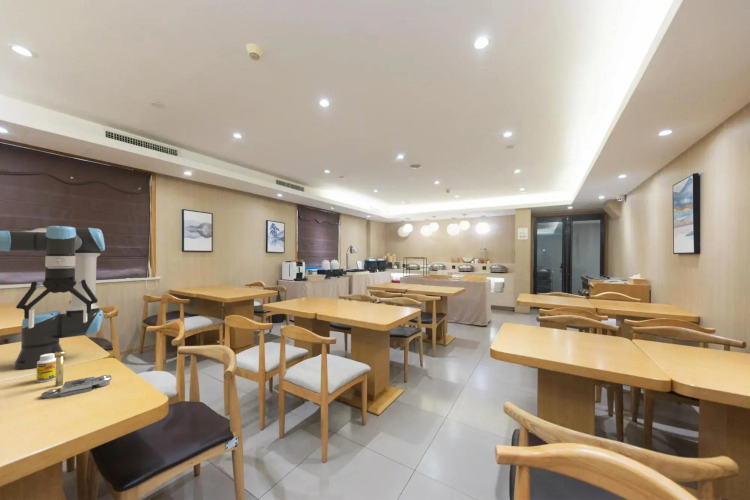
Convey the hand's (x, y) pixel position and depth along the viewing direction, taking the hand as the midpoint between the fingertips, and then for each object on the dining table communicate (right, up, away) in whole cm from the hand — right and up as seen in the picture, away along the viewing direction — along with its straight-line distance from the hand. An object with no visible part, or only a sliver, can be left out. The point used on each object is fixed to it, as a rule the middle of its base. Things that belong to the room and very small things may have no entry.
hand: (59, 324), depth 106 cm
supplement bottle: (-17, -26, +11) cm, 32 cm away
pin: (-7, -25, +6) cm, 27 cm away
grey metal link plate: (+5, -25, +2) cm, 26 cm away
